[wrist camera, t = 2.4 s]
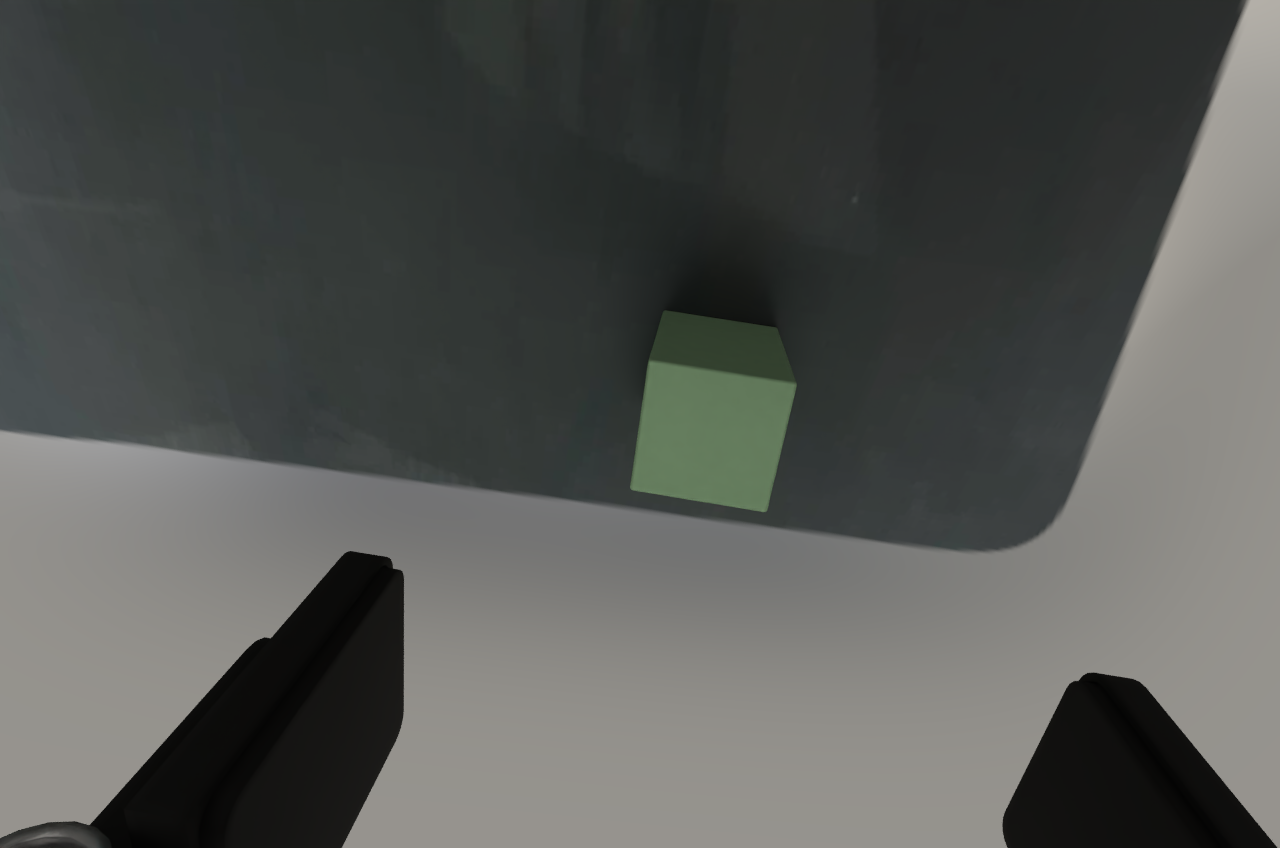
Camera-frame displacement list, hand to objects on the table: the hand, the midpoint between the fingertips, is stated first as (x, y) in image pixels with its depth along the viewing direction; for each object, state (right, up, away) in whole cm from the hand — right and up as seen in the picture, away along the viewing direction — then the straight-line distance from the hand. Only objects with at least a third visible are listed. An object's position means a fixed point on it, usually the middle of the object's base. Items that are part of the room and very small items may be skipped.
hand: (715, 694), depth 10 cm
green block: (+1, +6, +15) cm, 16 cm away
